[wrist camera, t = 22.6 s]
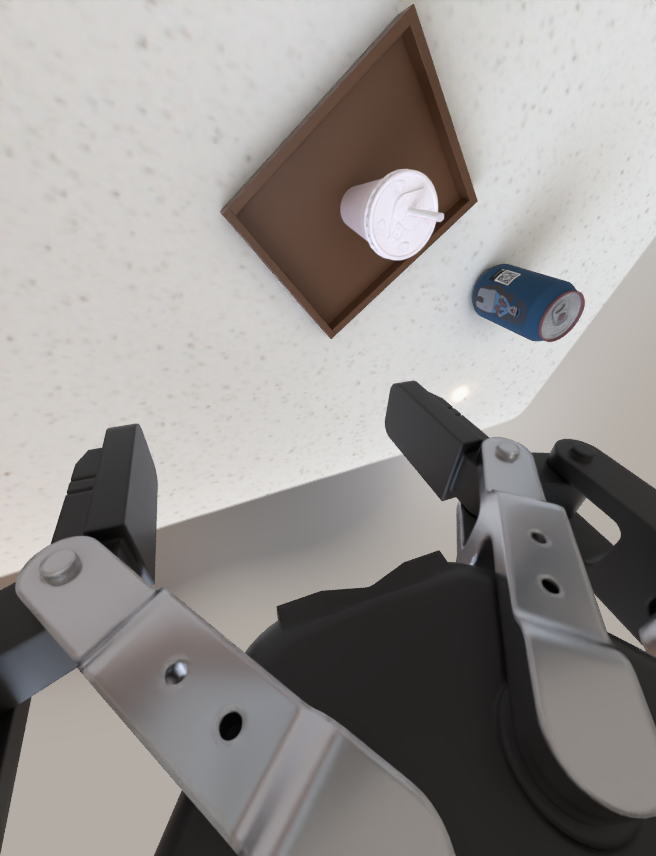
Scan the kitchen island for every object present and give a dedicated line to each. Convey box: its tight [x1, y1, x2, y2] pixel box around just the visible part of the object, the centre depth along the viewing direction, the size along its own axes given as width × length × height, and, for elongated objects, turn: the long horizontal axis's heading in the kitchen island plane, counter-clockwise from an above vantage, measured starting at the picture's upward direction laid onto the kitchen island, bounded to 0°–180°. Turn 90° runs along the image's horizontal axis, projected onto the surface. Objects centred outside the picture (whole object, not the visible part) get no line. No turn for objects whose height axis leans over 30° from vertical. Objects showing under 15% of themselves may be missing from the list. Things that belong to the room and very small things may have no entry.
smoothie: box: [340, 169, 444, 260], centre depth 29 cm, size 6×6×14 cm
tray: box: [221, 4, 477, 339], centre depth 34 cm, size 22×17×2 cm
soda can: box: [472, 264, 585, 342], centre depth 43 cm, size 7×7×12 cm
